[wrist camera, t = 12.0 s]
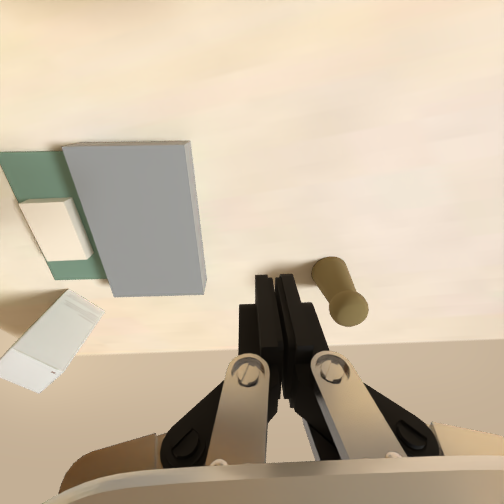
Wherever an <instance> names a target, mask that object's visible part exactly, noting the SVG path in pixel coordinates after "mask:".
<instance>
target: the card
mask: <svg viewBox="0 0 504 504" xmlns="http://www.w3.org/2000/svg"><path fill="white" fill-rule="evenodd" d="M19 206H20V208H21V210H22V212H23V214H24V216H25V218H26V220H27V222H28V224H29V226H30V228H31V230H32V232H33V234H34V236H35V238H36V240H37V242H38V244H39V246H40V248H41V250H42V252H43V254H44V256H45V258H46V260H47V261H66V260H87V259H88V258H89V257H90V256H91V255H92V254H93V253H94V252H93V249H92V247H91V244H90V242H89V239H88V236H87V234H86V231H85V229H84V226H83V224H82V221H81V219H80V216H79V213H78V211H77V208H76V206H75V203H74V201H73V198H72V197H67V198H44V199H28V200H26V201H24V202H21V203H19Z"/></svg>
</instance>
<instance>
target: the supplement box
mask: <svg viewBox="0 0 504 504" xmlns="http://www.w3.org/2000/svg"><path fill="white" fill-rule="evenodd" d="M104 313H105V311H104V310H102V309H101V308H99V307H98V306H96V305H94V304H93V303H91V302H90V301H88V300H86V299H85V298H83V297H81V296H80V295H78V294H77V293H75V292H73V291H72V290H70V289H67V290H66V291H65V292H64V293H63V294H62V295H61V296H60V297H59V298H58V299H57V300H56V301H55V302H54V303H53V305H52V306H51V307H50V308H49V309H48V310H47V311H46V312H45V313H44V314H43V315H42V316H41V317H40V318H39V319H38V320H37V321H36V322H35V323H34V324H33V325H32V326H31V327H30V328H29V329H28V330H27V331H26V332H25V333H24V334H23V335H22V336H21V337H20V338H19V339H18V340H17V341H16V342H15V343H14V344H13V345H12V346H11V347H10V348H9V350H7V352H6V353H5V354H4V355H3V356H2V357H1V358H0V378H3V379H5V380H7V381H10V382H12V383H14V384H17V385H19V386H22V387H24V388H27V389H29V390H32V391H34V392H36V393H41V392H42V391H43V390H44V389H45V388H46V387H47V386H48V385H50V384H51V383H52V382H53V381H54V380H55V379H56V378H57V377H59V376H60V375H61V374H62V373H63V372H64V371H65V369H66V368H67V367H68V365H69V363H70V362H71V361H72V359H73V358H74V356H75V355H76V353H77V352H78V351H79V349H80V348H81V346H82V345H83V343H84V342H85V340H86V339H87V337H88V336H89V334H90V333H91V331H92V330H93V328H94V327H95V326H96V324H97V323H98V321H99V320H100V318H101V317H102V315H103V314H104Z"/></svg>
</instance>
